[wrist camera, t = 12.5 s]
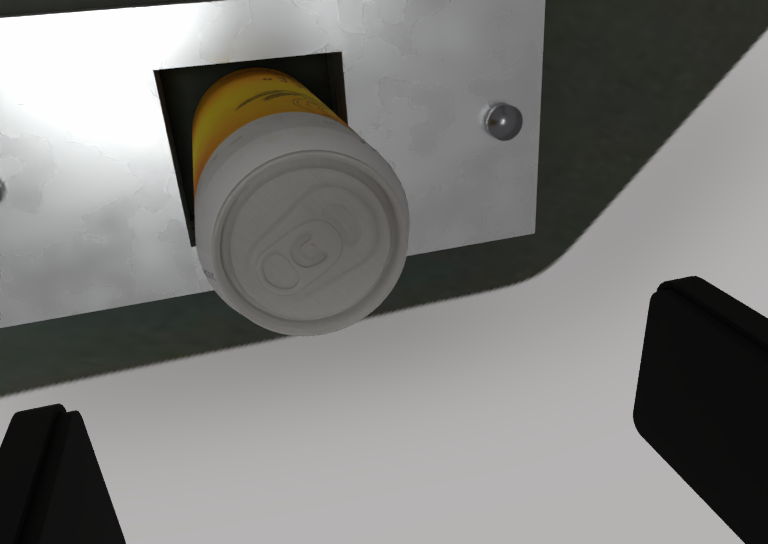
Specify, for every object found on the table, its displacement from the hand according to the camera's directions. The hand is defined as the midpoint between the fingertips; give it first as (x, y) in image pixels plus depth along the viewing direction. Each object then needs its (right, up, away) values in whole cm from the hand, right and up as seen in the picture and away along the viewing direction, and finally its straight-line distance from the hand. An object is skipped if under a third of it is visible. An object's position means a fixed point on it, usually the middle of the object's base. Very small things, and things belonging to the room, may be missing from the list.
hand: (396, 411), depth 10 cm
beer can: (-6, +9, +20) cm, 23 cm away
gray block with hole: (-6, +9, +20) cm, 22 cm away
